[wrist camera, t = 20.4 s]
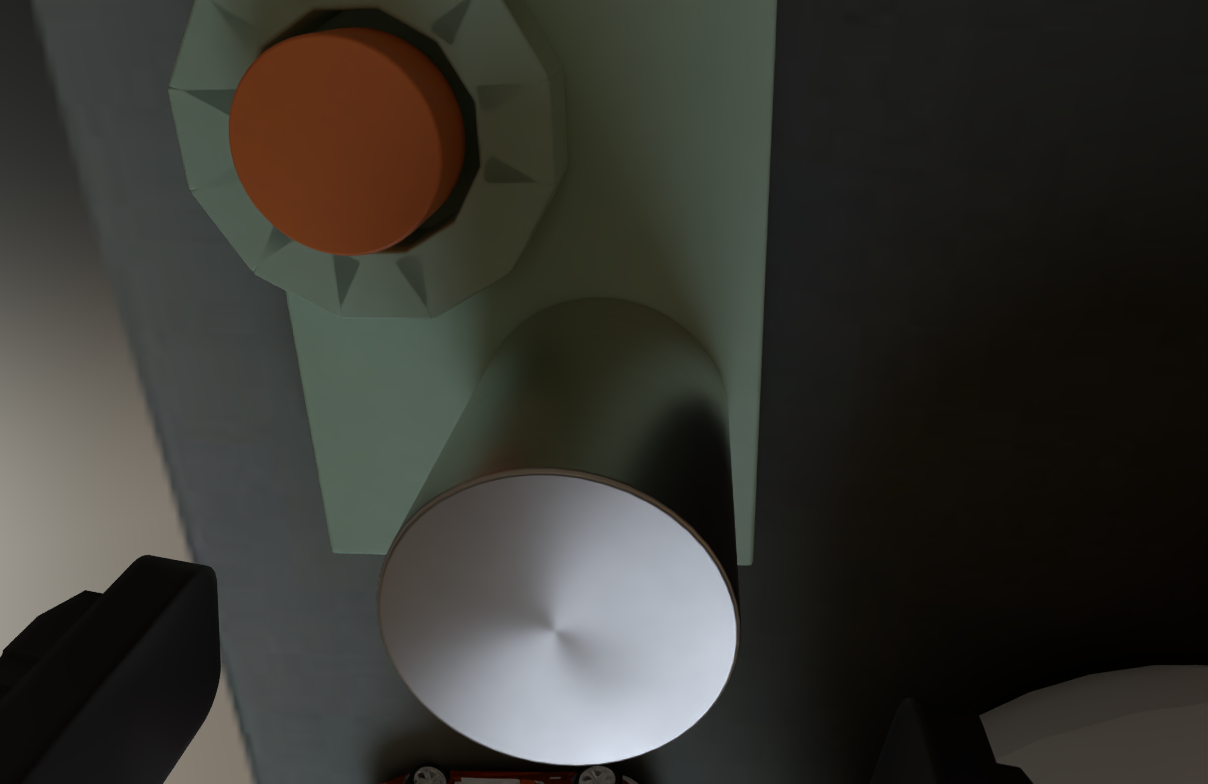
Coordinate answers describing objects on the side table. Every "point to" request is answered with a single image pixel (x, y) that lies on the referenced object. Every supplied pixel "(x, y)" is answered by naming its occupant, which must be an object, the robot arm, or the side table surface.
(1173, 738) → the bowl
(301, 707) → the side table surface
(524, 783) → the toy car
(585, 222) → the green board with knob
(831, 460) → the side table surface
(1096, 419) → the side table surface
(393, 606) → the spice tin
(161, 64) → the side table surface
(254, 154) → the button
